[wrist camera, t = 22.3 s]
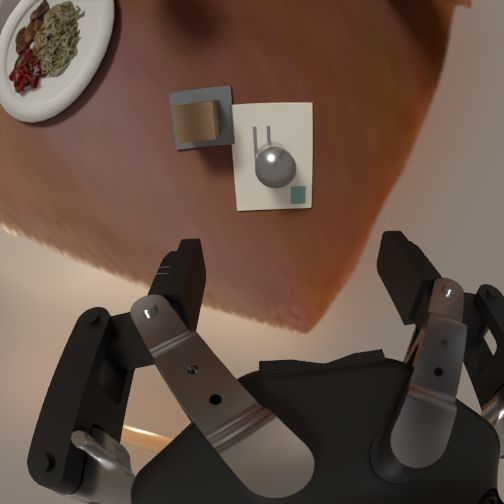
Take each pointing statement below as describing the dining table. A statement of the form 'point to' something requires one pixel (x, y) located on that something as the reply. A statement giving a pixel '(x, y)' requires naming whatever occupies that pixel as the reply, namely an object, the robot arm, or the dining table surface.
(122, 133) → the dining table surface
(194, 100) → the coaster
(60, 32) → the plated food
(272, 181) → the tin
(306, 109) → the envelope
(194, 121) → the walnut block
